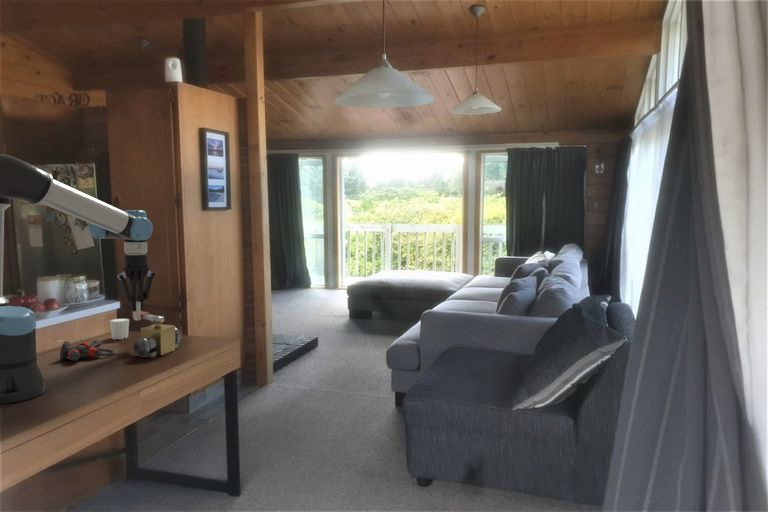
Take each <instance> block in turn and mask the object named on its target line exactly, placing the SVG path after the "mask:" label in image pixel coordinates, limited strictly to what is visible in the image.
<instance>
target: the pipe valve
mask: <svg viewBox="0 0 768 512" xmlns="http://www.w3.org/2000/svg"><path fill="white" fill-rule="evenodd" d="M181 340H182V332H181V331H180V329H178V328H177V327H176V325H172V324H163V322H159V323H154V322H153V324H151V325H146V326H145V327H144V326H143V327H141V328H140V337H139V338H136V340H134V342H133V346H132V349H133V351H134V353H135V354H136V357H137V356H140V357H139V358H145V357H151V358H150V359H154V358H156V357H155V356H157V355H163V356H165V355H167V354H170V353H172V352H175V351H176V349H175V348H177V349H179V342H180V341H181ZM174 350H175V351H174ZM171 351H172V352H171ZM169 352H170V353H169ZM166 353H167V354H166ZM164 354H165V355H164ZM153 357H154V358H153ZM157 357H158V356H157Z"/></svg>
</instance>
